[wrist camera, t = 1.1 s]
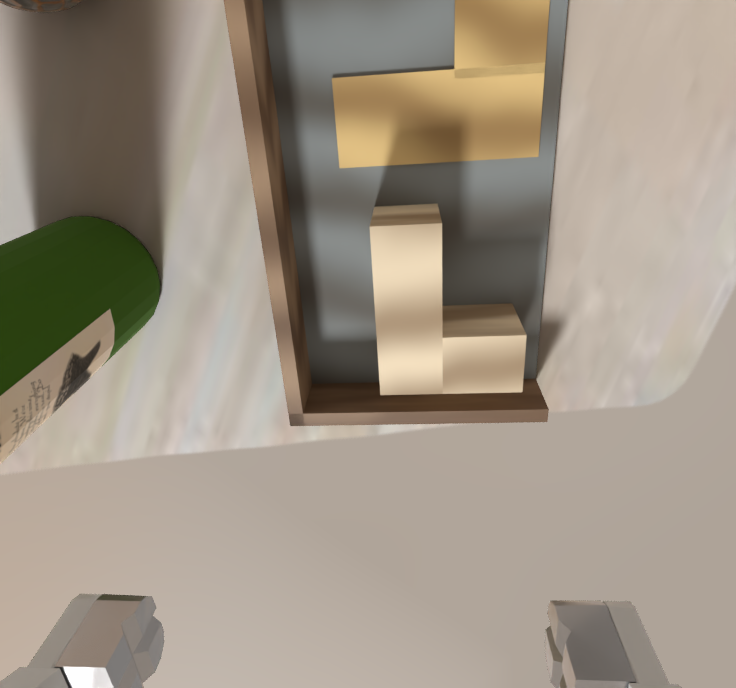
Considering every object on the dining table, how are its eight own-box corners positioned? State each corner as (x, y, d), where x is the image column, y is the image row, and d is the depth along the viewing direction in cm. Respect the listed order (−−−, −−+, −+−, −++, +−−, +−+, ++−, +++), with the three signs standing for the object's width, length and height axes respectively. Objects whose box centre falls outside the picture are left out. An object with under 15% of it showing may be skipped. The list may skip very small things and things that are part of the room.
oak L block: (374, 206, 34) (369, 226, 30) (518, 199, 33) (535, 218, 29) (383, 358, 39) (380, 395, 35) (509, 355, 38) (522, 392, 34)
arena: (243, -28, 30) (216, -44, 25) (570, -58, 28) (598, -80, 24) (301, 391, 42) (290, 426, 38) (532, 386, 40) (547, 421, 36)
